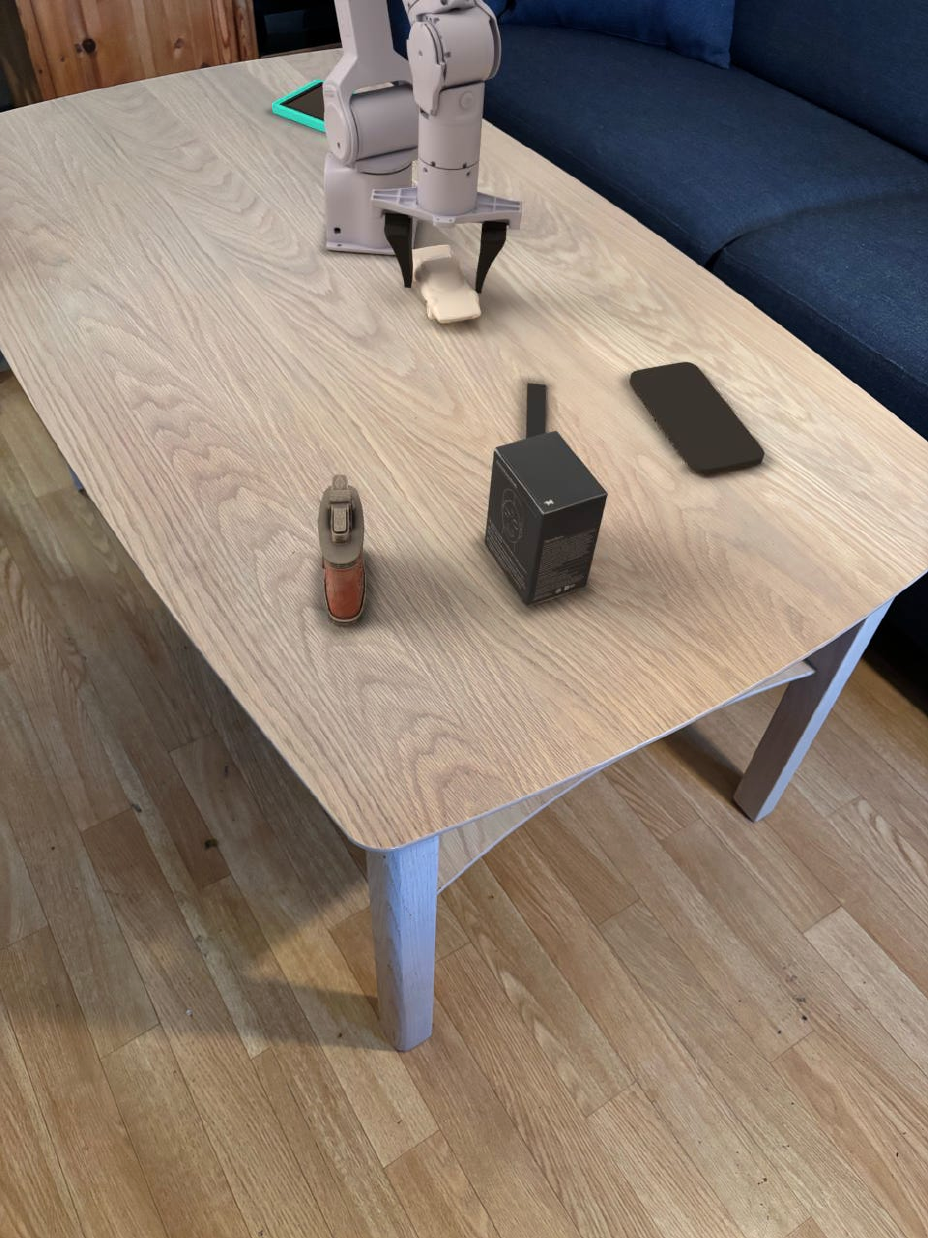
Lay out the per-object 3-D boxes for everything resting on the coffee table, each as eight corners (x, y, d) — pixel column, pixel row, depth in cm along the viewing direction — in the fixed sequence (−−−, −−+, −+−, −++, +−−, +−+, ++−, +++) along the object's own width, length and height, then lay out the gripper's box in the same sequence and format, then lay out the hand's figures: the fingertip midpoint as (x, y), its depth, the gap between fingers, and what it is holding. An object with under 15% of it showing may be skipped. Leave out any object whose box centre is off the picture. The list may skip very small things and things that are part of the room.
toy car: (434, 334, 97) (435, 305, 95) (402, 268, 104) (401, 240, 102) (486, 325, 99) (487, 296, 96) (450, 261, 105) (451, 232, 103)
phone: (693, 359, 96) (770, 456, 88) (691, 366, 97) (767, 463, 88) (626, 371, 94) (698, 472, 86) (624, 378, 95) (696, 479, 86)
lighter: (324, 550, 79) (315, 459, 71) (365, 549, 79) (362, 458, 71) (323, 628, 74) (314, 538, 66) (367, 627, 74) (364, 537, 66)
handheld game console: (368, 150, 121) (367, 139, 120) (269, 112, 126) (268, 101, 125) (413, 121, 127) (414, 111, 126) (317, 86, 132) (317, 76, 130)
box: (587, 587, 78) (610, 493, 70) (526, 609, 76) (542, 514, 68) (541, 523, 82) (557, 426, 74) (481, 542, 80) (491, 445, 72)
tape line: (524, 491, 84) (525, 490, 84) (527, 384, 94) (527, 382, 94) (545, 493, 84) (545, 492, 84) (545, 385, 94) (545, 384, 94)
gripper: (365, 169, 87) (368, 301, 97) (526, 182, 87) (511, 313, 98) (374, 132, 91) (376, 263, 102) (527, 145, 91) (513, 274, 102)
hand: (443, 285), depth 100 cm, fingers closed on toy car, 6 cm apart
